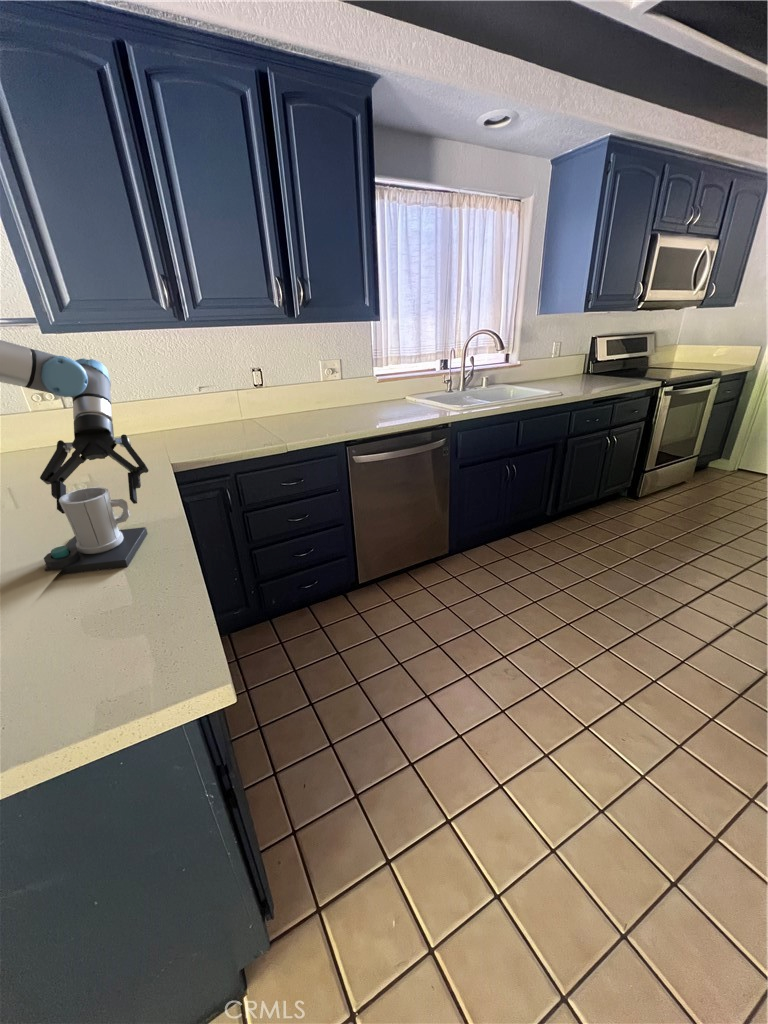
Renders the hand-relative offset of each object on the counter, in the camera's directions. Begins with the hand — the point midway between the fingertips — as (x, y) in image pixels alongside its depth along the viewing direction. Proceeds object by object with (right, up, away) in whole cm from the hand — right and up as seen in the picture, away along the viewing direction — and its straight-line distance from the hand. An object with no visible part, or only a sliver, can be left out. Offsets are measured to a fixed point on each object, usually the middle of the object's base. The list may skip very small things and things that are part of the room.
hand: (98, 506), depth 92 cm
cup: (0, -8, +3) cm, 9 cm away
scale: (-1, -10, +2) cm, 11 cm away
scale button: (-5, -10, -4) cm, 12 cm away
